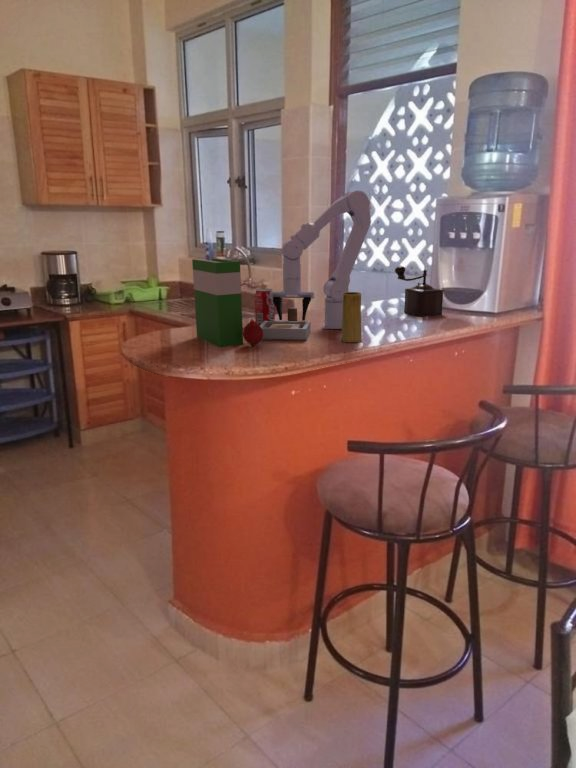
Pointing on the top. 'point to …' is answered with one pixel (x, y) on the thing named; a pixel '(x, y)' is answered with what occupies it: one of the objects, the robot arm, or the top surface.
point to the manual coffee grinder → (421, 297)
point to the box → (286, 330)
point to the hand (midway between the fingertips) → (292, 319)
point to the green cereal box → (218, 301)
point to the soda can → (264, 306)
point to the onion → (253, 333)
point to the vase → (351, 317)
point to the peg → (292, 314)
